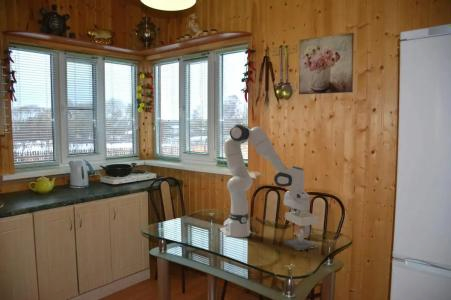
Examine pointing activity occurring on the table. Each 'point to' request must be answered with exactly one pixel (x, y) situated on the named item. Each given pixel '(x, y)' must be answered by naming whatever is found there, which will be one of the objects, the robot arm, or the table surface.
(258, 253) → the table surface
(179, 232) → the table surface
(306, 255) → the table surface
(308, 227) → the small box
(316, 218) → the link
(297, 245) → the keeper plate
